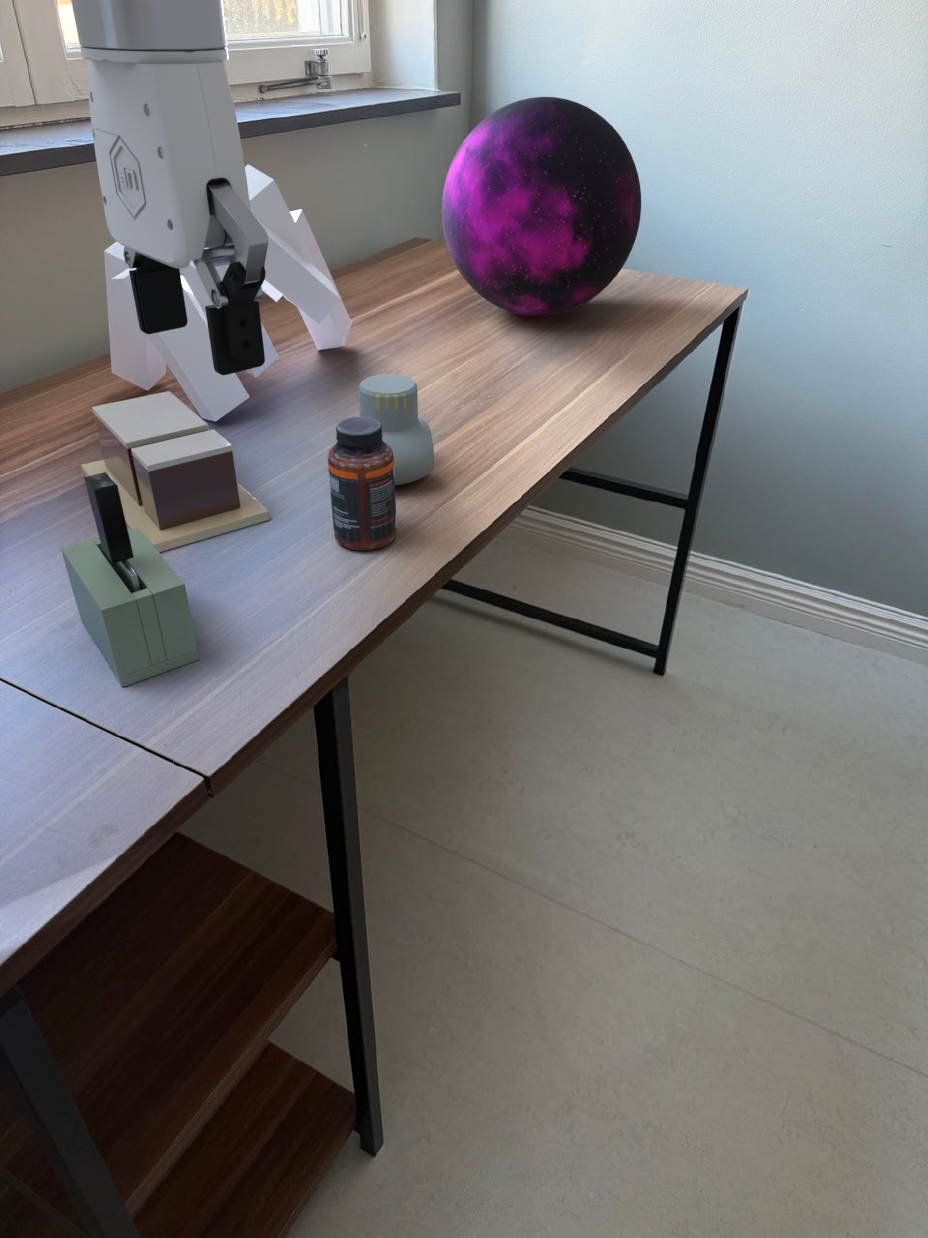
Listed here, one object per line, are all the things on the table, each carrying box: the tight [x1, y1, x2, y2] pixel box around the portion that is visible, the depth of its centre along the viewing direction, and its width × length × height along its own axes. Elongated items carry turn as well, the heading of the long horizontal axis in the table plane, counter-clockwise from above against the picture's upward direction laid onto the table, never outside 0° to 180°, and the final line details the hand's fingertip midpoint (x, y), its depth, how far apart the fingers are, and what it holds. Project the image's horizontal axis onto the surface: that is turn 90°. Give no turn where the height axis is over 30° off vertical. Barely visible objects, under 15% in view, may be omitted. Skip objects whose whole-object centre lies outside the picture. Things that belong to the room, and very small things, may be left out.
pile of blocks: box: [103, 164, 353, 423], centre depth 109 cm, size 35×30×35 cm
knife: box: [83, 472, 140, 594], centre depth 66 cm, size 7×2×13 cm, turn 36°
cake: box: [80, 390, 271, 553], centre depth 87 cm, size 12×20×8 cm, turn 36°
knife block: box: [60, 527, 200, 688], centre depth 68 cm, size 10×6×7 cm, turn 36°
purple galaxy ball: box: [441, 96, 642, 317], centre depth 134 cm, size 30×30×30 cm
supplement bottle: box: [327, 416, 398, 551], centre depth 80 cm, size 6×6×11 cm
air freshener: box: [358, 373, 435, 486], centre depth 92 cm, size 11×8×10 cm
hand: (200, 348), depth 57 cm, fingers open, 9 cm apart
